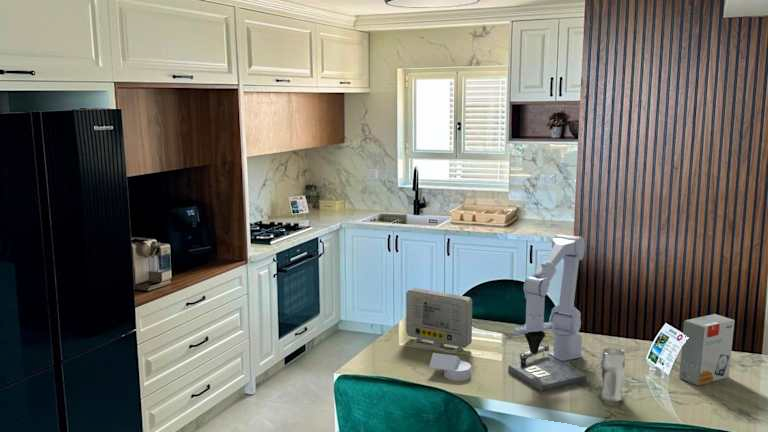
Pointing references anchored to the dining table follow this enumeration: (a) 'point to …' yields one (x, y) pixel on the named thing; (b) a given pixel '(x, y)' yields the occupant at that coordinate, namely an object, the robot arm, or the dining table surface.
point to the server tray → (547, 374)
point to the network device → (439, 319)
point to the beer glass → (612, 373)
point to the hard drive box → (706, 349)
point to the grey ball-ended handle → (529, 354)
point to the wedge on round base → (451, 366)
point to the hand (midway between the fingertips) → (533, 352)
